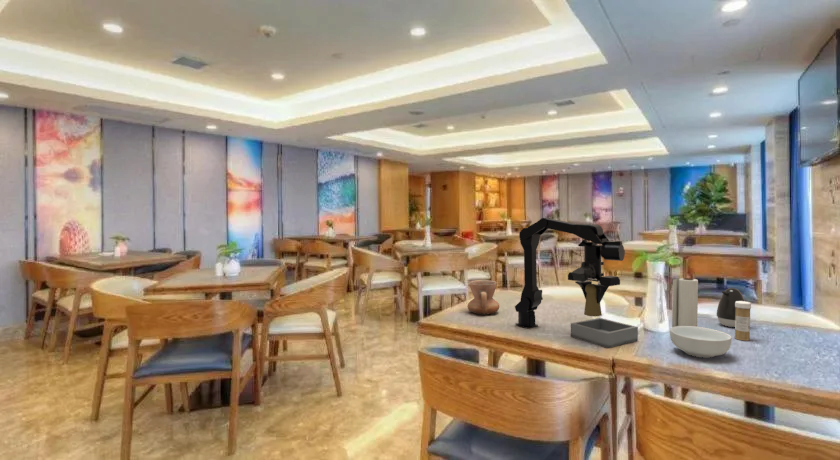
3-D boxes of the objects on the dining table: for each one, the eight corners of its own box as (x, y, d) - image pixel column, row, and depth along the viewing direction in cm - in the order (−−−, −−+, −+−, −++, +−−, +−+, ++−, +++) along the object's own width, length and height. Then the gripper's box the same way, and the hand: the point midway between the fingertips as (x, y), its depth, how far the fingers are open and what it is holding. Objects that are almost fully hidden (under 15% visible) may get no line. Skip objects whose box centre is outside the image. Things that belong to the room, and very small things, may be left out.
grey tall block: (699, 337, 162) (700, 278, 161) (694, 340, 157) (695, 280, 156) (677, 333, 167) (678, 276, 166) (671, 336, 162) (672, 278, 161)
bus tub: (570, 336, 164) (570, 323, 164) (599, 330, 172) (599, 317, 172) (607, 348, 150) (608, 333, 150) (637, 340, 158) (637, 326, 158)
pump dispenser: (709, 324, 179) (710, 286, 178) (728, 321, 182) (729, 285, 182) (734, 330, 169) (735, 291, 169) (754, 328, 173) (755, 289, 172)
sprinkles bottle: (739, 336, 161) (739, 300, 161) (752, 340, 157) (753, 302, 157) (731, 338, 159) (732, 301, 159) (745, 341, 155) (746, 303, 155)
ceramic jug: (468, 308, 213) (467, 278, 212) (499, 308, 211) (498, 278, 210) (466, 318, 195) (465, 286, 194) (500, 318, 193) (499, 286, 192)
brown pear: (603, 316, 157) (603, 285, 157) (585, 316, 159) (585, 285, 158) (600, 312, 163) (600, 283, 163) (582, 312, 164) (582, 282, 164)
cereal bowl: (707, 366, 132) (708, 342, 132) (658, 350, 148) (658, 329, 147) (743, 358, 139) (744, 335, 139) (692, 343, 154) (692, 323, 154)
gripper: (557, 258, 164) (557, 300, 165) (599, 263, 148) (599, 309, 149) (578, 256, 170) (578, 297, 170) (621, 260, 153) (621, 305, 154)
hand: (592, 302), depth 161 cm, fingers closed on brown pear, 4 cm apart
